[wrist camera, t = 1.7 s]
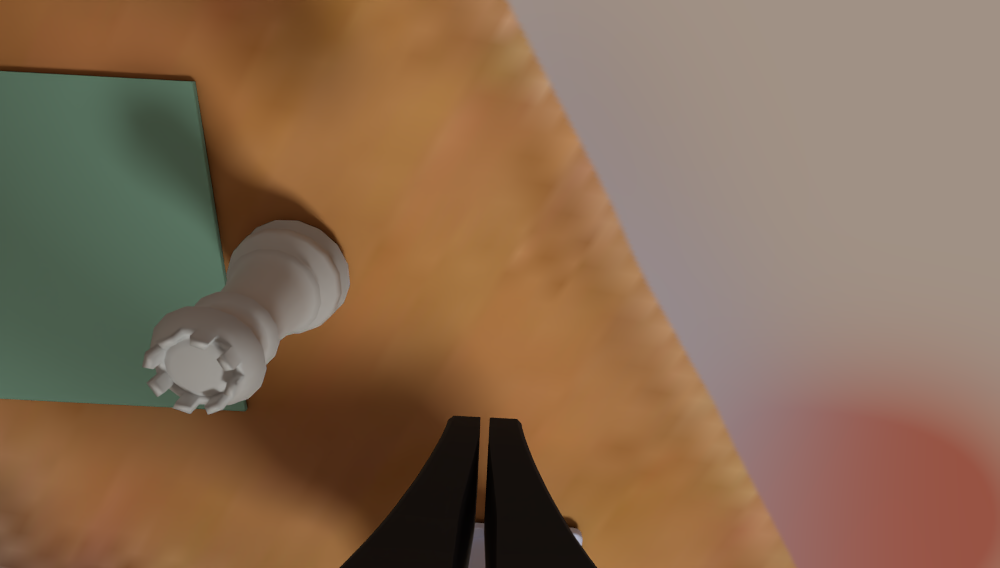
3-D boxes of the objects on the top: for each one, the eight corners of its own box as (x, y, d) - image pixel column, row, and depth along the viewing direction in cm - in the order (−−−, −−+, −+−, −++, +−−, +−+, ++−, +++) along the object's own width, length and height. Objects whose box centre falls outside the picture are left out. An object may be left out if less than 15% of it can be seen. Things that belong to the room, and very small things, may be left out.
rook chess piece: (366, 309, 22) (295, 432, 15) (265, 325, 23) (148, 452, 15) (335, 206, 21) (238, 288, 13) (226, 226, 21) (74, 315, 14)
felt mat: (247, 408, 24) (245, 411, 24) (-16, 394, 24) (-20, 397, 24) (195, 81, 19) (191, 81, 19) (-144, 62, 19) (-151, 63, 19)
